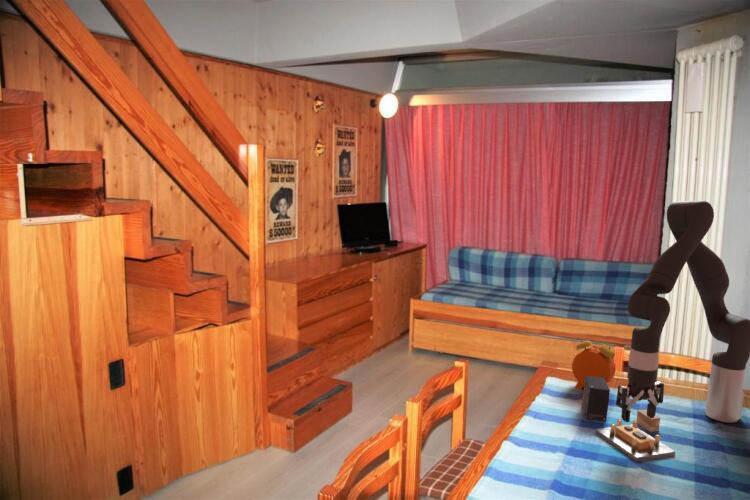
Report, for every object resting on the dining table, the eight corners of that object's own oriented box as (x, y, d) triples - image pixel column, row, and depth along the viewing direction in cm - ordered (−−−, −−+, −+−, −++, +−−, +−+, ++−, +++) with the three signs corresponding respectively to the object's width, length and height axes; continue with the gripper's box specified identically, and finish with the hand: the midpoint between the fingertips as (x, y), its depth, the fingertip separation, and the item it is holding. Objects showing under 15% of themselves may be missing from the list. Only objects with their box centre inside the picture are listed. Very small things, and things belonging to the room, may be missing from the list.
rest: (644, 421, 184) (645, 409, 183) (658, 430, 178) (660, 418, 178) (636, 422, 183) (637, 410, 183) (650, 431, 178) (652, 419, 177)
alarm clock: (613, 392, 207) (619, 337, 203) (607, 397, 202) (612, 340, 199) (576, 381, 215) (581, 328, 212) (569, 386, 211) (574, 332, 207)
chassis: (631, 427, 180) (632, 414, 179) (674, 455, 164) (676, 441, 163) (595, 432, 176) (596, 419, 175) (636, 461, 160) (637, 447, 159)
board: (628, 430, 175) (629, 422, 175) (654, 447, 166) (655, 438, 165) (614, 432, 174) (615, 424, 173) (639, 449, 164) (640, 440, 164)
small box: (607, 422, 183) (611, 389, 182) (585, 419, 185) (588, 387, 183) (602, 407, 194) (605, 377, 192) (581, 405, 195) (584, 375, 193)
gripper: (653, 357, 171) (648, 410, 174) (612, 362, 167) (608, 416, 170) (674, 366, 164) (668, 421, 167) (631, 372, 160) (626, 428, 163)
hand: (638, 419), depth 168 cm, fingers open, 8 cm apart
